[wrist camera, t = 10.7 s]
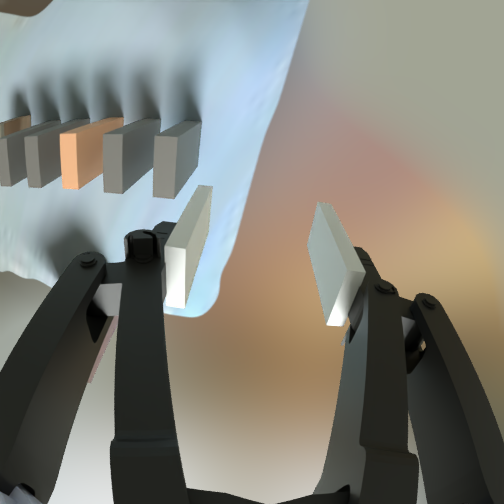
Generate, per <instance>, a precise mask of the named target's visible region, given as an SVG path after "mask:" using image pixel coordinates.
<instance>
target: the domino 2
mask: <svg viewBox="0 0 504 504" xmlns="http://www.w3.org/2000/svg"><path fill="white" fill-rule="evenodd" d="M87 124H90V118H89V119H76V120H72V121H69V122H66V123H63V124H60V125H56V126H53V127H50V128H48V129H45V130H42V131H39V132H36V133H33V134H31V135H28V136H25V137H24V141H25V157H26V168H27V178H28V186H29V187H33V188H42V187H44V186H45V185H47V184H48V183H50V182H52V181H53V180H55V179H56V178H58V177H60V176H61V175H62V172H61V155H60V134H61V133H64V132H67V131H69V130H72V129H75V128H78V127H81V126H84V125H87Z"/></svg>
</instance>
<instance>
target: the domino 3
mask: <svg viewBox="0 0 504 504" xmlns="http://www.w3.org/2000/svg"><path fill="white" fill-rule="evenodd" d="M160 126H161V119H148V118H145V119H142V120H139V121H137V122H134V123H131V124H128V125H125V126H123V127H120V128H117V129H115V130H112V131H110V132H107V133H105V134H103V182H104V192H106V193H117V194H123V193H124V192H125V191H126V190H128V189H129V188H130V187H131V186H132V185H133V184H134V183H135V182H137V181H138V180H139V179H140V178H141V177H142V176H143V175H145V174H146V173H147V172H148V171H149V170H150V169H152V168H153V165H154V141H155V135H157V134H159V133H160Z"/></svg>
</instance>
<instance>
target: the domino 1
mask: <svg viewBox="0 0 504 504" xmlns="http://www.w3.org/2000/svg"><path fill="white" fill-rule="evenodd" d="M60 124H61V120H52V121H47V122H44V123H41V124H38V125H35V126H32V127H29V128H26V129H23V130H20V131H17V132H15V133H12V134H9V135H7V136H4V137H2V138H0V183H1V186H13V185H15V184H16V183H18V182H20V181H21V180H23V179H25V178H26V177H27V168H26V157H25V141H24V137H25V136H28V135H31V134H33V133H36V132H39V131H42V130H45V129H48V128H50V127H53V126H56V125H60Z"/></svg>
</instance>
